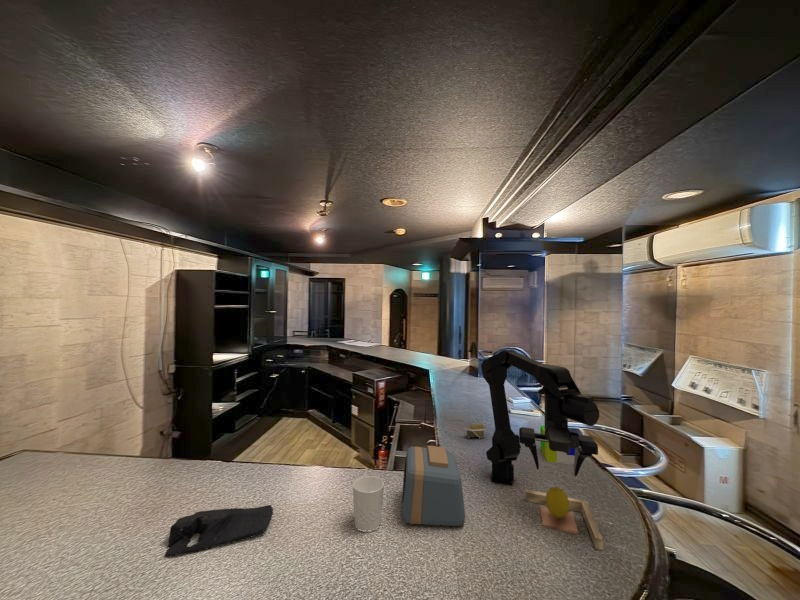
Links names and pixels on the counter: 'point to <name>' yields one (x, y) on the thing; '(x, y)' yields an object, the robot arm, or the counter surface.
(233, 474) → the counter surface
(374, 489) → the white cup
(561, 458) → the puzzle toy
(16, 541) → the counter surface
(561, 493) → the lemon
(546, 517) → the wooden corner frame
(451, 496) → the grey taped box
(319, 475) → the counter surface
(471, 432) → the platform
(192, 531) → the black flat piece
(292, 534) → the counter surface
